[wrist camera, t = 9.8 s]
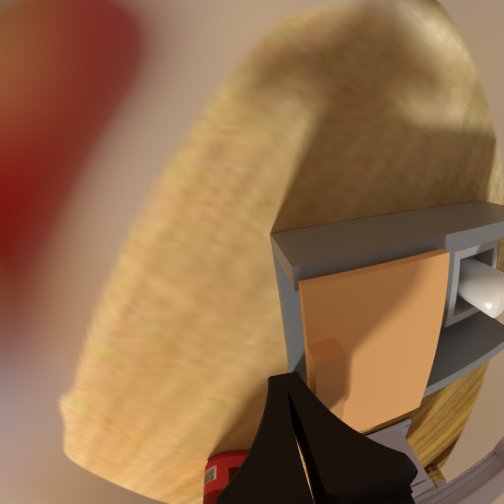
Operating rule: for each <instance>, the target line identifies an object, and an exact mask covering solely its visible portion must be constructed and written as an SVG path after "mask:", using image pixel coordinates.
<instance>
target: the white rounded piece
mask: <svg viewBox="0 0 504 504" xmlns="http://www.w3.org/2000/svg"><path fill="white" fill-rule="evenodd" d="M457 295H458V296H460V297H461V298H463V299H464V300H466V301H467V302H469V303H470V304H472V305H474V306H475V307H477V308H478V309H480V310H481V311H483V312H484V313H486V314H487V315H489V316H490V317H492V318H495V317H497V316H498V315H500V314H501V312H502V311H503V310H504V273H503V272H501V271H499V270H497V269H495V268H493V267H491V266H489V265H487V264H484V263H482V262H480V261H478V260H476V259H473V258H471V257H466V258H463V259H460V270H459V280H458V288H457Z"/></svg>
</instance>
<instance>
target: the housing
mask: <svg viewBox="0 0 504 504" xmlns="http://www.w3.org/2000/svg"><path fill="white" fill-rule="evenodd" d="M270 237H271V244H272V250H273V257H274V264H275V270H276V277H277V284H278V291H279V298H280V305H281V312H282V320H283V327H284V335H285V342H286V350H287V357H288V365H289V373H291V372H298V373H299V375H300V376H301V378H302V379H303V381H304V382H305V384H306V385H307V386H308V384H307V370H306V357H305V345H304V334H303V324H302V313H301V304H300V294H299V285H298V281H303V280H308V279H313V278H318V277H322V276H327V275H332V274H337V273H341V272H346V271H351V270H355V269H360V268H364V267H369V266H373V265H378V264H382V263H386V262H390V261H395V260H399V259H403V258H407V257H411V256H415V255H419V254H423V253H427V252H431V251H435V250H439V249H444V250H446V251H448V252H450V258H449V271H448V282H447V291H446V299H445V306H444V312H443V318H442V324H441V329H440V334H439V339H438V344H437V348H436V352H435V356H434V360H433V364H432V368H431V372H430V375H429V379H428V382H427V385H426V388H425V392H424V395H423V398H424V397H426V396H428V395H430V394H432V393H434V392H436V391H438V390H440V389H441V388H443V387H445V386H447V385H449V384H451V383H452V382H454V381H456V380H458V379H459V378H461V377H463V376H464V375H466V374H468V373H469V372H471V371H472V370H474V369H475V368H477V367H479V366H480V365H482V364H483V363H485V362H486V361H487V360H489V359H490V358H492V357H493V356H495V355H496V354H497V353H499V352H500V351H501V350H503V349H504V325H503V324H501V323H500V322H498V321H497V320H495V319H494V318H492V317H490V316H489V315H487V314H486V313H484V312H483V311H481V310H480V309H478V308H477V307H475V306H474V305H472V304H470V303H469V302H467V301H466V300H464V299H463V298H461V297H460V296H458V295H457V288H458V280H459V270H460V259H463V258H466V257H471V258H473V259H476V260H478V261H480V262H482V263H484V264H487V265H489V266H491V267H493V268H495V269H496V261H497V251H498V239H500V238H503V237H504V205H499V204H495V203H490V202H484V201H476V202H469V203H461V204H454V205H447V206H440V207H433V208H427V209H420V210H413V211H406V212H400V213H393V214H387V215H380V216H374V217H368V218H361V219H355V220H349V221H343V222H337V223H330V224H324V225H318V226H312V227H306V228H301V229H295V230H289V231H283V232H277V233H271V234H270Z"/></svg>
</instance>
